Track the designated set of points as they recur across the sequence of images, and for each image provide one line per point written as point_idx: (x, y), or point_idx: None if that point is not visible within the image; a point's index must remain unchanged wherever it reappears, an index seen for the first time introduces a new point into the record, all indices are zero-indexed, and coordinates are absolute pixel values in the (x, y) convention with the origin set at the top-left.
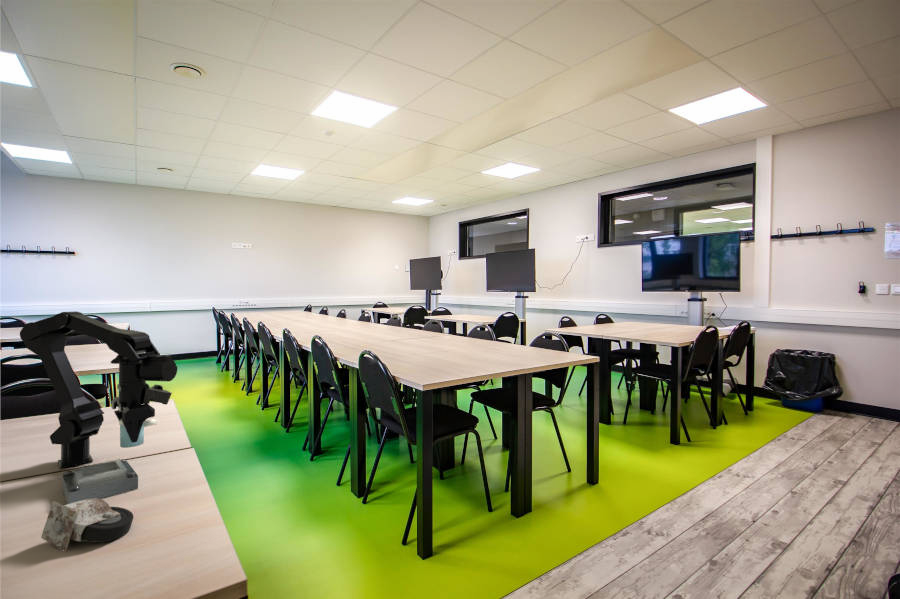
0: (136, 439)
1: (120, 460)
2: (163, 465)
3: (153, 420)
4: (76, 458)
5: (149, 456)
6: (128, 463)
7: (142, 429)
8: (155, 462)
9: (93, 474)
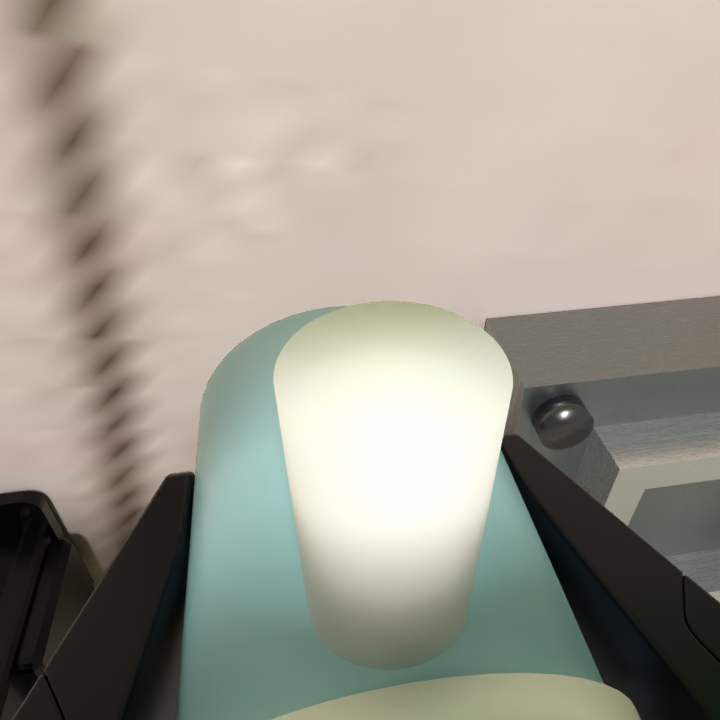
0: (540, 463)
1: (672, 462)
2: (600, 11)
3: (483, 492)
4: (78, 601)
5: (123, 86)
6: (630, 377)
7: (503, 513)
8: (420, 68)
9: (633, 527)
